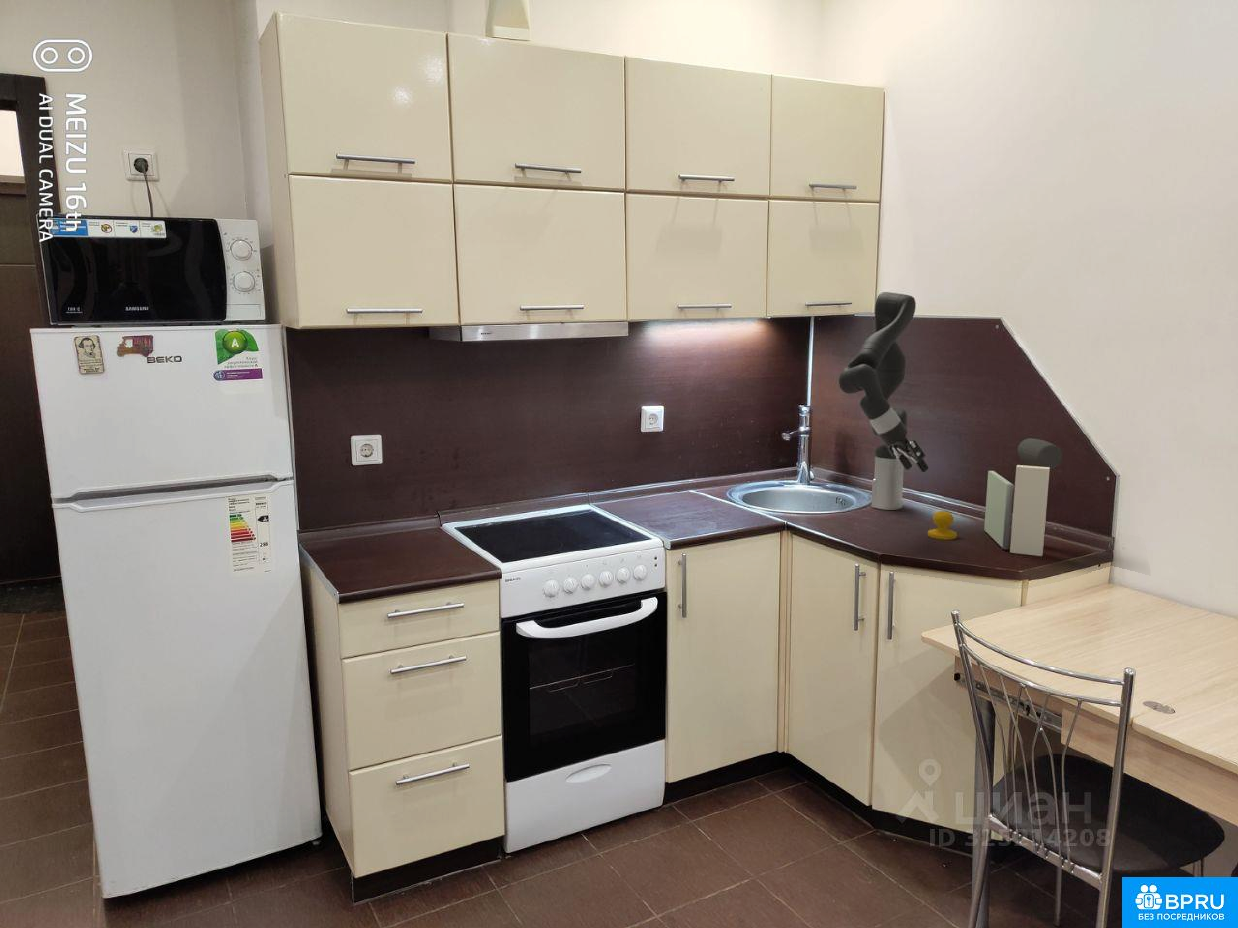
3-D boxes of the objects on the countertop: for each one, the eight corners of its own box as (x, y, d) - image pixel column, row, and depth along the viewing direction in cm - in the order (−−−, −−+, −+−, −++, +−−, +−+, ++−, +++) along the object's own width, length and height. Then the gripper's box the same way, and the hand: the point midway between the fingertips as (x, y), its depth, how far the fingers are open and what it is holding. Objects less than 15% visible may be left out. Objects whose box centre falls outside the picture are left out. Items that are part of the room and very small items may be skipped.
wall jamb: (1009, 552, 243) (1016, 466, 239) (1010, 549, 246) (1017, 464, 241) (1042, 556, 239) (1049, 469, 235) (1042, 553, 242) (1049, 467, 237)
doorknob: (953, 533, 264) (959, 540, 256) (925, 532, 265) (930, 539, 257) (955, 508, 262) (960, 515, 255) (927, 507, 264) (931, 514, 256)
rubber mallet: (1008, 538, 257) (1016, 436, 251) (1033, 538, 257) (1042, 436, 251) (1030, 550, 244) (1038, 443, 239) (1056, 550, 245) (1065, 443, 239)
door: (983, 529, 264) (987, 470, 261) (990, 529, 264) (994, 470, 261) (1003, 549, 244) (1008, 485, 241) (1010, 549, 244) (1015, 485, 240)
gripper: (910, 417, 247) (940, 463, 250) (884, 416, 261) (913, 459, 264) (891, 434, 246) (921, 479, 249) (865, 432, 260) (894, 475, 263)
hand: (917, 469), depth 257 cm, fingers open, 8 cm apart
